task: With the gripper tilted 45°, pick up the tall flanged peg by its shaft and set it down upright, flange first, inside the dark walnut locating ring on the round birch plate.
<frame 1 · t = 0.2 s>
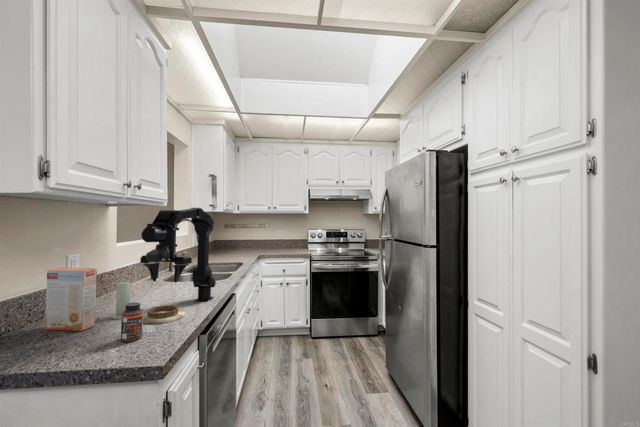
hand: (165, 281, 115), 14 cm above the countertop, tool pointing down, fingers open, 9 cm apart
supplement bottle: (131, 339, 95), on the countertop
cracker box: (70, 328, 104), on the countertop
flanged peg: (122, 316, 117), on the countertop
locating collar: (163, 316, 117), on the countertop
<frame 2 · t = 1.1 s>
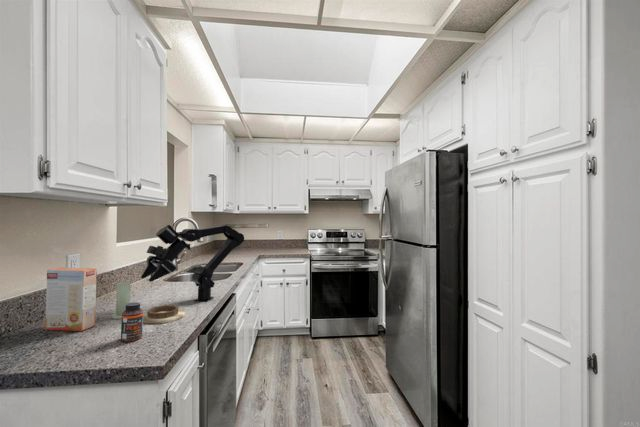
hand: (145, 279, 123), 13 cm above the countertop, tool tilted 45°, fingers open, 9 cm apart
nothing on the countertop moved.
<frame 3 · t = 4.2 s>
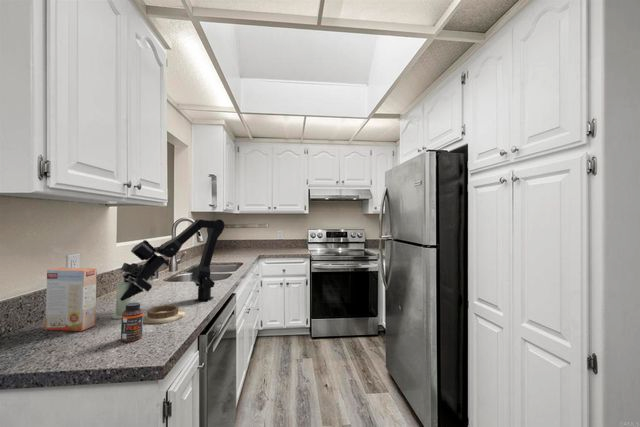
hand: (119, 298, 116), 7 cm above the countertop, tool tilted 45°, fingers closed on flanged peg, 5 cm apart
flanged peg: (122, 316, 117), on the countertop, touching gripper
everything else where it was.
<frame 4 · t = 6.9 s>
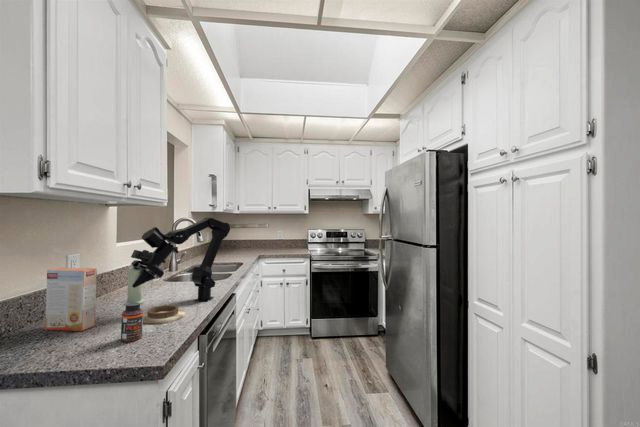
hand: (130, 286, 115), 12 cm above the countertop, tool tilted 45°, fingers closed on flanged peg, 5 cm apart
flanged peg: (134, 303, 116), point 5 cm above the countertop, touching gripper
everything else where it was.
when the fingers open (9 cm above the countertop, at t = 10.0 s): flanged peg stays where it is, resting on locating collar.
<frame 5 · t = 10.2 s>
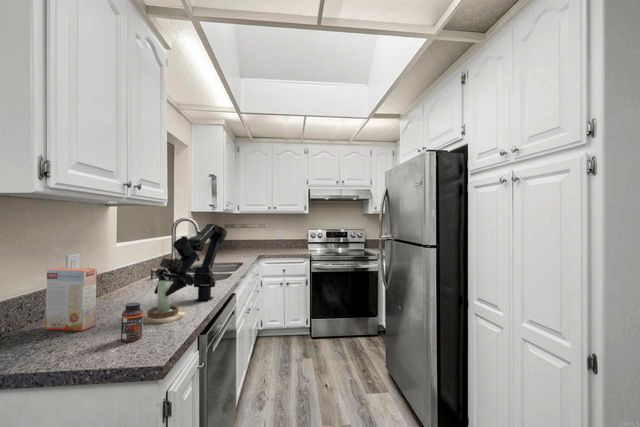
hand: (160, 294, 116), 9 cm above the countertop, tool tilted 45°, fingers open, 6 cm apart
flanged peg: (163, 314, 117), point 1 cm above the countertop, touching locating collar
everything else where it was.
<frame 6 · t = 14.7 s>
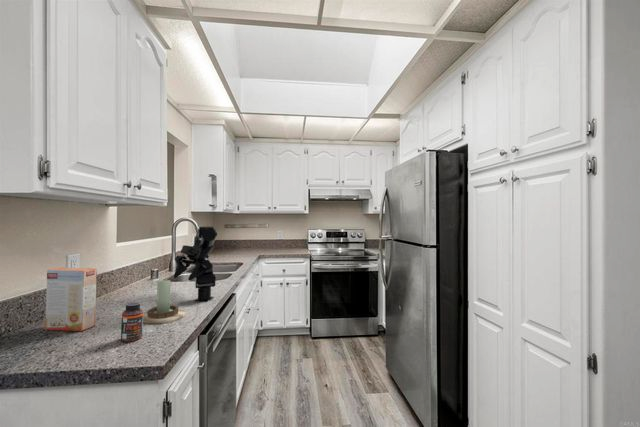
hand: (181, 278, 124), 14 cm above the countertop, tool tilted 45°, fingers open, 9 cm apart
nothing on the countertop moved.
at the end: flanged peg 0.1 cm off-centre on the locating collar, point 1.0 cm above the locating collar's base; flanged peg tilted 0°; the gripper is holding nothing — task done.
